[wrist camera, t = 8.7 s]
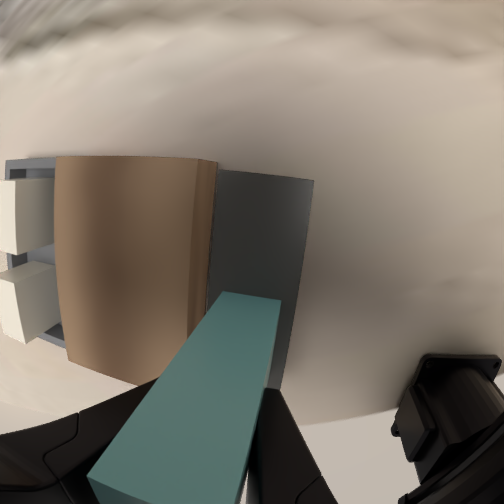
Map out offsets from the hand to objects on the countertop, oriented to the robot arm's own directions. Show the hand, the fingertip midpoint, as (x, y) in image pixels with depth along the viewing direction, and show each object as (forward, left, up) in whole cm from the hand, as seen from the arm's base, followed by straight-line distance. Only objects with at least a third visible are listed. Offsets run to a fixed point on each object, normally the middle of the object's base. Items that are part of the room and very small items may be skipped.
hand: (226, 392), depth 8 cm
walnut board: (+7, 0, -9) cm, 11 cm away
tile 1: (+13, -3, -6) cm, 15 cm away
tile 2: (+14, +3, -6) cm, 15 cm away
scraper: (0, 0, -5) cm, 5 cm away
